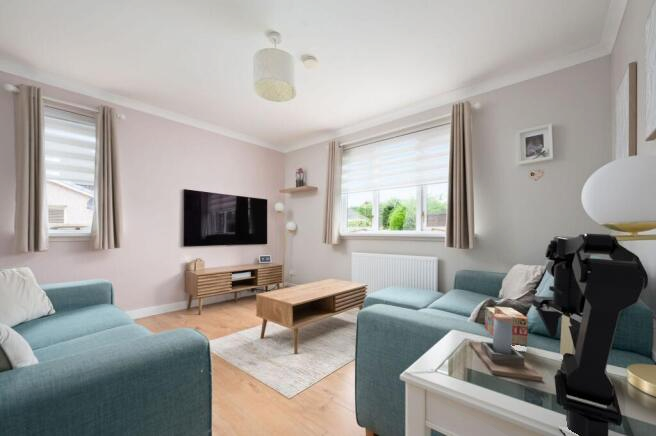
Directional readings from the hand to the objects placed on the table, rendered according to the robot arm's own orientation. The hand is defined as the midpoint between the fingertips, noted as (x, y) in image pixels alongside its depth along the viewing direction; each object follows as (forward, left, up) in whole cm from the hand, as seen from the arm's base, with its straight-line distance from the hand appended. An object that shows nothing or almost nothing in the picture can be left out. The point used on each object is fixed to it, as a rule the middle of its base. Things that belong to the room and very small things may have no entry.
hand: (565, 345), depth 70 cm
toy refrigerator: (+20, -16, -13) cm, 29 cm away
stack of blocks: (+37, -1, -14) cm, 39 cm away
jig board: (+17, +8, -13) cm, 23 cm away
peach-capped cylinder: (+17, +8, -12) cm, 22 cm away
